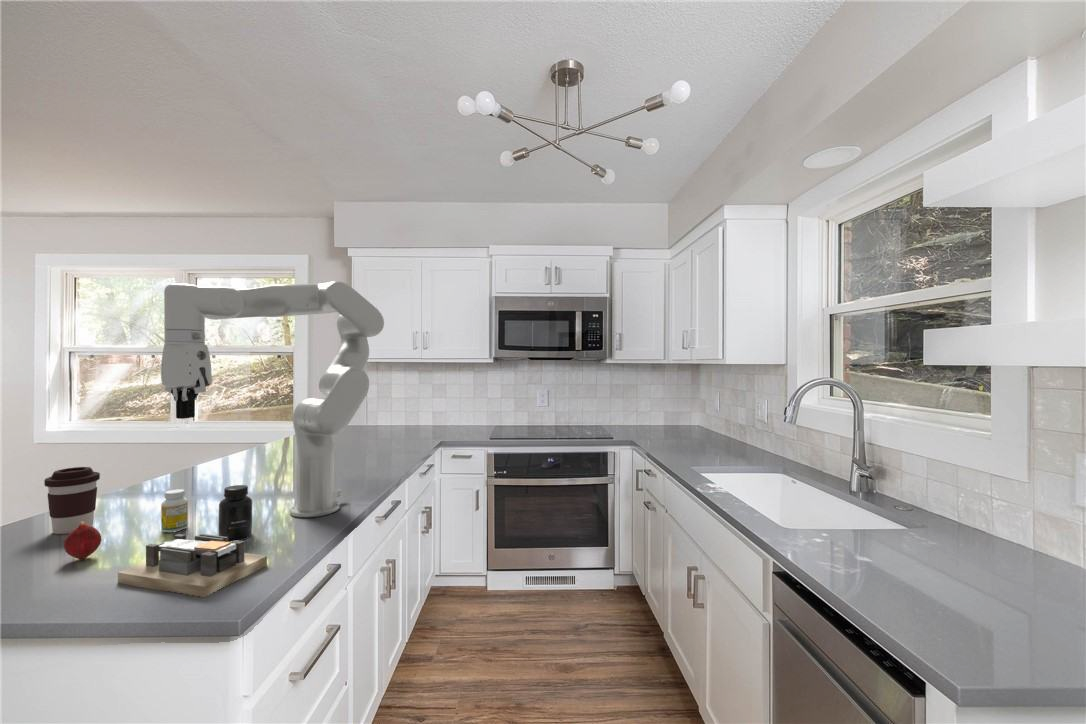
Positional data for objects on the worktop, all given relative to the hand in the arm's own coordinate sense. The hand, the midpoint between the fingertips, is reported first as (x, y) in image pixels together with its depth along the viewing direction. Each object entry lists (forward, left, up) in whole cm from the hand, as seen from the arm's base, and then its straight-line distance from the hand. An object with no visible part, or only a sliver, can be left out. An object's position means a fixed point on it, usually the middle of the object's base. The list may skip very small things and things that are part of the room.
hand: (185, 417), depth 113 cm
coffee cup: (+1, -35, -29) cm, 46 cm away
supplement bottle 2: (-6, +8, -29) cm, 31 cm away
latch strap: (+12, +17, -24) cm, 32 cm away
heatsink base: (+12, +17, -29) cm, 36 cm away
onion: (+13, -12, -29) cm, 34 cm away
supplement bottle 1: (-6, -11, -29) cm, 32 cm away
